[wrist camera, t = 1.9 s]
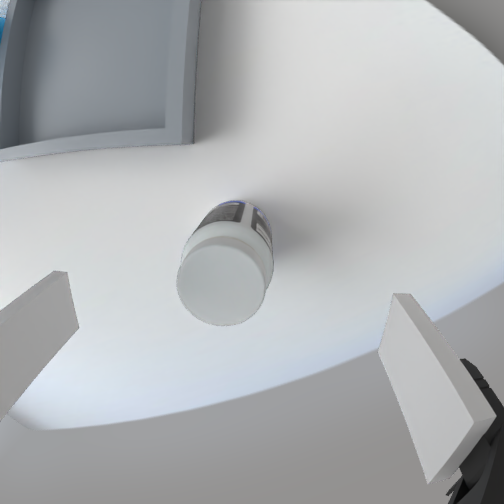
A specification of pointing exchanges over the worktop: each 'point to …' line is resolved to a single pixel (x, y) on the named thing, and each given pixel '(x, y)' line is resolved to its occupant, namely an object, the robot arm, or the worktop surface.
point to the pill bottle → (227, 264)
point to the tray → (97, 75)
